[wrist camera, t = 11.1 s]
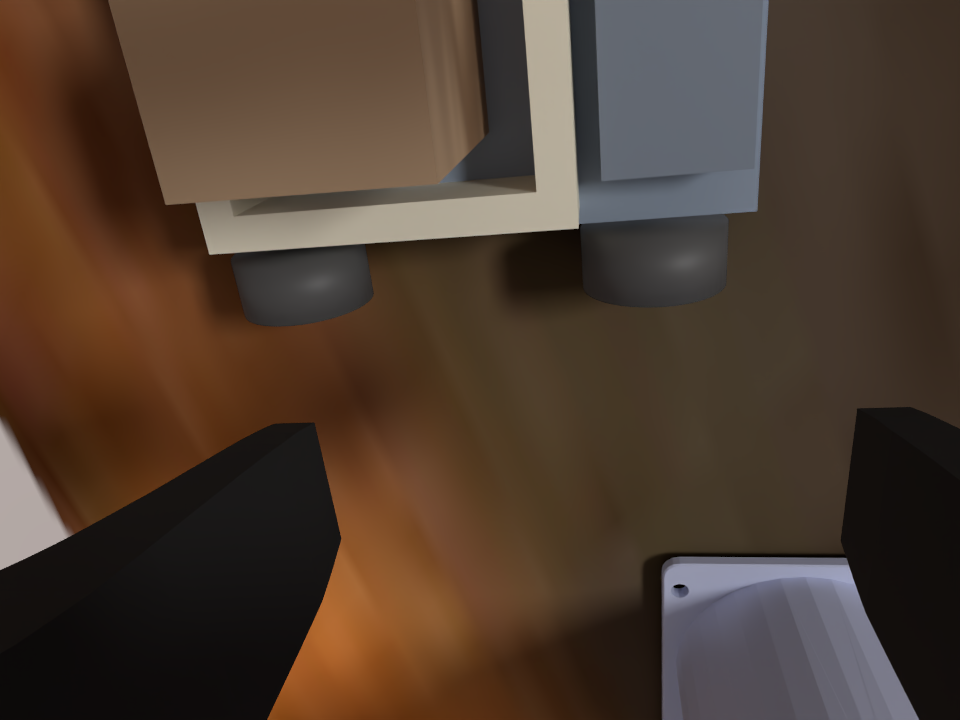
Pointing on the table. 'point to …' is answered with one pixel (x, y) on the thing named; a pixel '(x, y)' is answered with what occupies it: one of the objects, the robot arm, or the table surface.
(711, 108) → the toy truck
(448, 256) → the table surface
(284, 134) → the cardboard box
